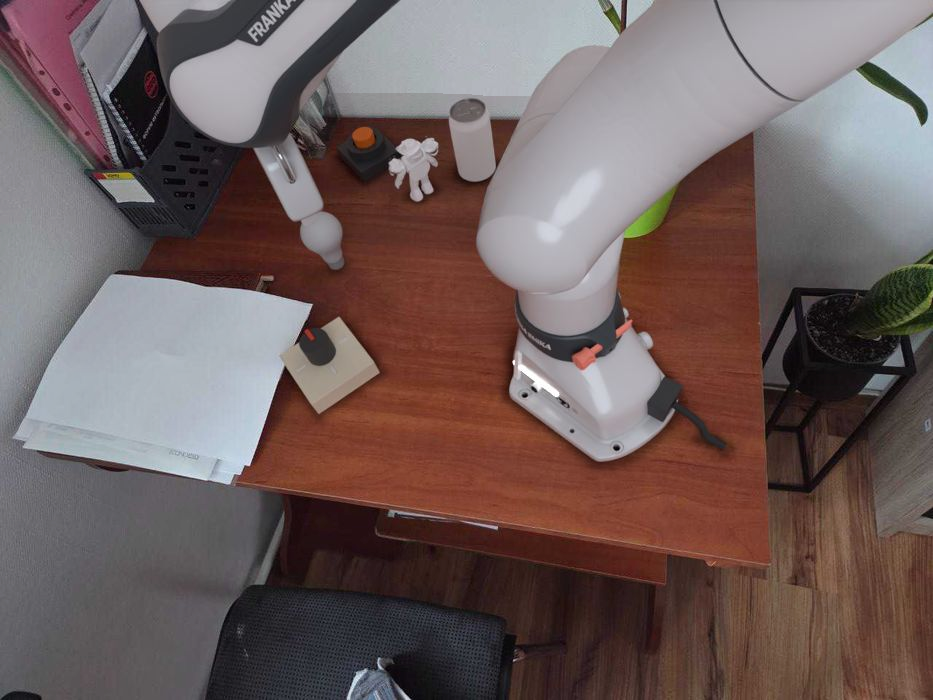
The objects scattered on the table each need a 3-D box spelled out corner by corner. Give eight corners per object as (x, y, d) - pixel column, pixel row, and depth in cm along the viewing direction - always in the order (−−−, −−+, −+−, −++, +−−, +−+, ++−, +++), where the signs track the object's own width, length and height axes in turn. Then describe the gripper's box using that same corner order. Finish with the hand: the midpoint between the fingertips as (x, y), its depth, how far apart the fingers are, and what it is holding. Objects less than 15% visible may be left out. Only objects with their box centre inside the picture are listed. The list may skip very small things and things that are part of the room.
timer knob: (341, 355, 84) (332, 340, 81) (316, 371, 84) (306, 357, 80) (327, 336, 86) (318, 321, 83) (303, 352, 86) (292, 337, 82)
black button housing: (402, 159, 108) (397, 141, 105) (364, 182, 107) (358, 164, 103) (376, 135, 113) (370, 117, 109) (339, 156, 111) (332, 138, 108)
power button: (379, 141, 106) (376, 133, 105) (361, 152, 105) (358, 143, 104) (368, 132, 108) (365, 123, 106) (351, 142, 107) (348, 133, 106)
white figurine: (406, 213, 101) (389, 156, 91) (394, 200, 103) (375, 143, 93) (450, 185, 103) (438, 126, 93) (437, 174, 105) (424, 114, 95)
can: (496, 181, 102) (488, 121, 92) (457, 185, 103) (445, 125, 93) (496, 154, 106) (488, 94, 96) (458, 158, 106) (447, 98, 96)
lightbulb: (356, 279, 95) (334, 230, 86) (318, 284, 96) (291, 237, 86) (357, 249, 99) (336, 199, 89) (320, 254, 99) (295, 205, 90)
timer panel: (379, 372, 86) (374, 361, 83) (318, 414, 84) (310, 404, 81) (345, 327, 91) (338, 315, 88) (286, 365, 89) (277, 354, 86)
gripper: (311, 133, 52) (355, 241, 64) (245, 23, 63) (294, 133, 74) (241, 163, 51) (299, 267, 63) (186, 46, 62) (245, 154, 73)
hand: (296, 194), depth 69 cm, fingers open, 8 cm apart
